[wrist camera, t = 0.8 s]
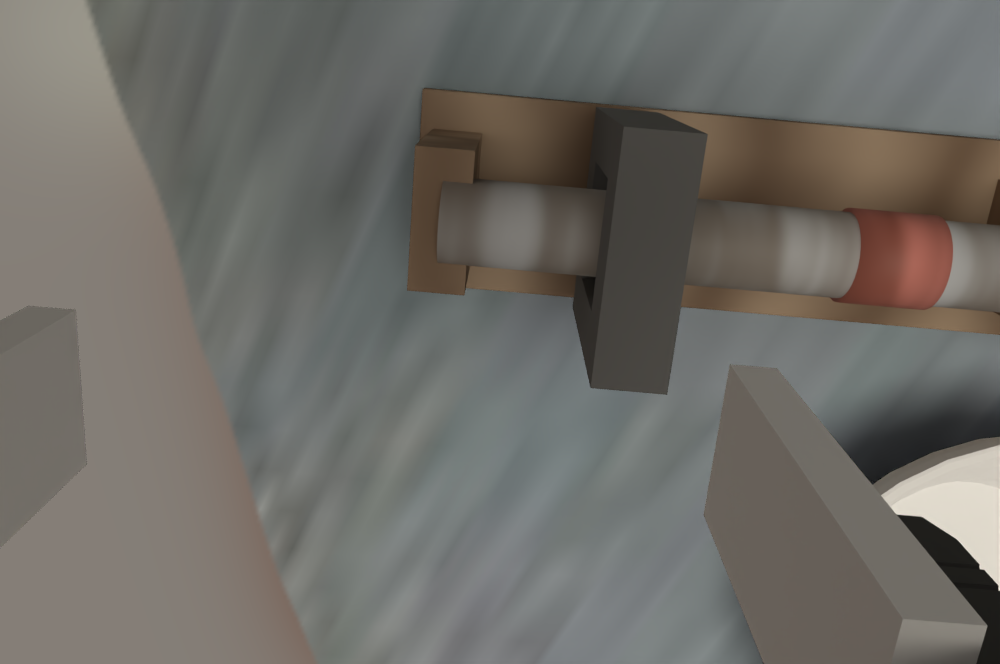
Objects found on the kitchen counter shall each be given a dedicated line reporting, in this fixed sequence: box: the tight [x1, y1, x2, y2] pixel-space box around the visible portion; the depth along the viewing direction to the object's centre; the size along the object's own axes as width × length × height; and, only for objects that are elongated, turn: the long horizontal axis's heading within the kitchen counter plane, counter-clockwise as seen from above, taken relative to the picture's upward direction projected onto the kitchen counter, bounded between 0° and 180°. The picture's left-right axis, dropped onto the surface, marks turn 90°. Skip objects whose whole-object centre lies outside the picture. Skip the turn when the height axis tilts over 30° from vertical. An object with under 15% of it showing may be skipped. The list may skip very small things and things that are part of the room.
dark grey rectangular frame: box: [573, 107, 708, 395], centre depth 30 cm, size 2×8×9 cm, turn 175°
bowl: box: [873, 437, 1000, 591], centre depth 39 cm, size 20×20×7 cm
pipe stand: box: [407, 88, 1000, 335], centre depth 33 cm, size 26×8×9 cm, turn 85°
